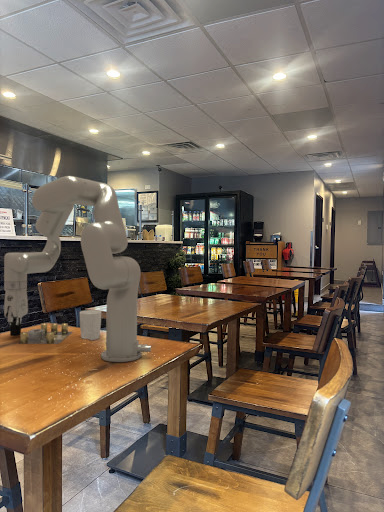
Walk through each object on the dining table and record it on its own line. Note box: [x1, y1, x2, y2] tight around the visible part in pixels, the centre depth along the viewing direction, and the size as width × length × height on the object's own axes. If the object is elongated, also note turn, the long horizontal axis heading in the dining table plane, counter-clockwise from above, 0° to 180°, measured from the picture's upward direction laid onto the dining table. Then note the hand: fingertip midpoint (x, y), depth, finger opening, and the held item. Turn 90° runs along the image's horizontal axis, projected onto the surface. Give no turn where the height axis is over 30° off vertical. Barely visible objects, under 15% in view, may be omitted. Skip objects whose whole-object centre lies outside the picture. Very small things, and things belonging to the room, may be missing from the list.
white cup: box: [79, 309, 102, 341], centre depth 139 cm, size 8×8×10 cm
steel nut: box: [27, 328, 45, 339], centre depth 137 cm, size 5×6×2 cm
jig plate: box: [18, 322, 74, 345], centre depth 137 cm, size 14×18×4 cm
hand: (15, 335), depth 137 cm, fingers closed
